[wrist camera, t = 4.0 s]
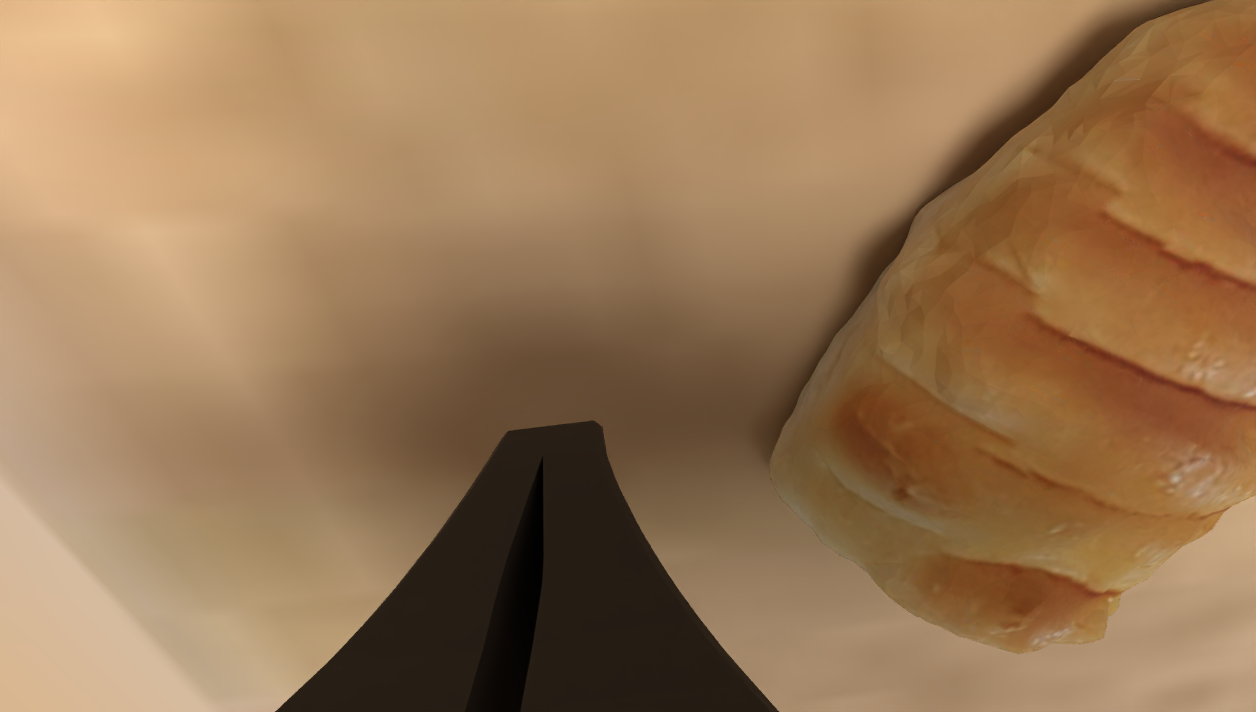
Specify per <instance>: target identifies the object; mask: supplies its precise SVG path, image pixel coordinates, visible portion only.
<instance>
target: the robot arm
mask: <svg viewBox="0 0 1256 712" xmlns="http://www.w3.org/2000/svg"><path fill="white" fill-rule="evenodd" d="M275 712H779V711H778V710H777V709H776V708H775V707H774V706H773V704H772V703H771V702H770V701H769V700H768V699H767V698H766V697H765V695H764V694H763V693H762V692H761V691H760V690H759V689H758V688H757V686H756V685H755V684H754V683H753V682H752V681H751V680H750V679H749V677H748V676H747V675H746V674H745V673H744V672H743V671H742V670H741V668H740V667H739V666H738V665H737V664H736V663H735V662H734V661H733V659H732V658H731V657H730V656H729V655H728V654H727V653H726V651H725V650H724V649H723V648H722V646H721V645H720V644H719V643H718V641H717V640H716V639H715V638H714V636H713V635H712V634H711V632H710V631H709V630H708V629H707V627H706V626H705V625H704V624H703V622H702V621H701V620H700V618H699V617H698V616H697V614H696V613H695V612H694V610H693V609H692V608H691V606H690V605H689V603H688V602H687V601H686V599H685V598H684V597H683V595H682V594H681V592H680V591H679V590H678V588H677V587H676V585H675V584H674V582H673V581H672V579H671V578H670V576H669V575H668V573H667V572H666V570H665V569H664V567H663V566H662V564H661V563H660V561H659V559H658V558H657V556H656V554H655V553H654V551H653V549H652V548H651V546H650V544H649V543H648V541H647V540H646V538H645V536H644V534H643V533H642V531H641V529H640V527H639V525H638V524H637V522H636V520H635V518H634V516H633V514H632V512H631V510H630V508H629V506H628V504H627V502H626V500H625V498H624V496H623V494H622V492H621V490H620V488H619V485H618V483H617V481H616V479H615V476H614V474H613V471H612V468H611V466H610V463H609V460H608V457H607V453H606V447H605V441H604V435H603V428H602V426H600V425H599V424H598V423H596V422H595V421H587V422H579V423H570V424H562V425H554V426H546V427H537V428H529V429H521V430H513V431H508V432H507V433H506V434H505V436H504V437H503V438H502V439H501V441H500V442H499V444H498V446H497V447H496V449H495V450H494V452H493V453H492V455H491V457H490V458H489V460H488V461H487V463H486V464H485V466H484V468H483V469H482V471H481V472H480V474H479V475H478V477H477V478H476V480H475V481H474V483H473V484H472V486H471V487H470V489H469V490H468V492H467V493H466V495H465V496H464V498H463V499H462V500H461V502H460V503H459V505H458V506H457V508H456V509H455V510H454V512H453V513H452V515H451V516H450V517H449V519H448V520H447V522H446V523H445V524H444V526H443V527H442V529H441V530H440V531H439V533H438V534H437V536H436V537H435V538H434V540H433V541H432V542H431V544H430V545H429V546H428V547H427V549H426V550H425V551H424V552H423V554H422V555H421V556H420V558H419V559H418V560H417V561H416V563H415V564H414V565H413V566H412V568H411V569H410V570H409V571H408V573H407V574H406V575H405V576H404V578H403V579H402V580H401V581H400V583H399V584H398V585H397V587H396V588H395V589H394V590H393V591H392V593H391V594H390V595H389V596H388V597H387V598H386V600H385V601H384V602H383V603H382V604H381V605H380V606H379V608H378V609H377V610H376V611H375V612H374V613H373V614H372V616H371V617H370V618H369V619H368V620H367V621H366V622H365V623H364V625H363V626H362V627H361V628H360V629H359V630H358V631H357V632H356V633H355V634H354V635H353V636H352V637H351V639H350V640H349V641H348V642H347V643H346V644H345V645H344V646H343V647H342V648H341V649H340V650H339V651H338V652H337V653H336V654H335V655H334V656H333V657H332V658H331V659H330V660H329V661H328V663H327V664H326V665H325V666H323V667H322V668H321V669H320V670H319V671H318V672H317V673H316V674H315V675H314V676H313V677H312V678H311V679H310V680H309V681H307V682H306V683H305V684H304V685H303V686H302V687H301V688H300V689H299V690H298V691H297V692H296V693H295V694H294V695H293V696H291V697H290V698H289V699H288V700H287V701H286V702H285V703H284V704H283V705H282V706H281V707H280V708H279V709H278V710H277V711H275Z"/></svg>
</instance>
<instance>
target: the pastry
mask: <svg viewBox="0 0 1256 712" xmlns="http://www.w3.org/2000/svg"><path fill="white" fill-rule="evenodd" d="M770 476H771V480H772V482H773V484H774V486H775V488H776V490H777V492H778V494H779V496H780V498H781V499H782V500H783V501H784V502H785V503H786V504H787V505H788V506H789V507H790V508H791V509H792V510H793V511H794V512H795V513H796V514H797V515H798V516H799V517H800V518H802V519H803V520H804V521H805V522H806V523H807V524H808V525H809V526H810V527H811V528H812V529H814V531H815V532H816V534H817V536H818V537H819V539H820V541H822V542H823V543H824V544H826V545H827V546H828V547H830V548H831V549H832V550H834V551H835V552H836V553H838V554H839V555H841V556H843V557H845V558H847V559H849V560H852V561H854V562H855V563H856V564H857V565H859V566H860V567H861V568H862V569H863V570H865V571H866V572H867V573H868V574H869V575H870V576H871V577H872V579H873V580H874V581H875V583H876V584H877V585H878V586H879V587H880V588H881V589H882V590H883V591H884V592H885V593H886V594H887V595H888V596H889V597H890V598H891V599H893V600H894V601H895V602H897V603H898V604H899V605H900V606H902V607H903V608H904V609H906V610H907V611H909V612H910V613H912V614H913V615H915V616H917V617H920V618H922V619H924V620H925V621H927V622H929V623H932V624H935V625H938V626H941V627H942V628H944V629H946V630H948V631H950V632H952V633H954V634H956V635H958V636H960V637H964V638H968V639H971V640H974V641H976V642H980V643H983V644H986V645H990V646H993V647H997V648H1000V649H1003V650H1006V651H1009V652H1013V653H1017V654H1019V653H1027V652H1032V651H1036V650H1039V649H1041V648H1043V647H1045V646H1046V645H1048V644H1050V643H1060V644H1084V643H1089V642H1094V641H1097V640H1099V639H1101V638H1104V634H1105V629H1106V626H1107V617H1108V616H1110V615H1111V614H1112V613H1113V612H1114V611H1115V610H1116V609H1117V608H1118V606H1119V600H1120V595H1121V593H1123V592H1124V591H1125V590H1127V589H1129V588H1131V587H1133V586H1134V585H1136V584H1138V583H1140V582H1142V581H1144V580H1146V579H1148V577H1149V576H1150V575H1151V574H1152V573H1153V571H1154V570H1155V569H1156V568H1157V567H1159V566H1160V565H1161V564H1162V563H1163V562H1165V561H1166V560H1167V559H1168V558H1169V557H1170V556H1172V555H1173V554H1174V553H1175V552H1176V551H1177V550H1179V549H1180V548H1181V547H1182V546H1184V545H1186V544H1188V543H1190V542H1192V541H1194V540H1196V539H1198V538H1200V537H1202V536H1203V535H1205V534H1206V533H1207V532H1209V531H1210V530H1212V529H1213V527H1214V526H1215V524H1216V523H1217V521H1218V520H1219V518H1220V517H1221V515H1222V514H1223V512H1225V511H1226V510H1227V509H1229V508H1230V507H1231V506H1233V505H1235V504H1237V503H1239V502H1241V501H1244V500H1246V499H1248V498H1250V497H1252V496H1254V495H1256V0H1212V1H1209V2H1206V3H1202V4H1199V5H1195V6H1191V7H1188V8H1184V9H1180V10H1178V11H1175V12H1172V13H1169V14H1167V15H1164V16H1161V17H1158V18H1155V19H1153V20H1150V21H1147V22H1145V23H1144V24H1142V25H1140V26H1138V27H1137V28H1135V29H1134V30H1133V31H1132V32H1131V33H1130V34H1129V35H1128V36H1126V37H1125V38H1124V39H1123V40H1122V41H1121V42H1120V43H1119V44H1118V45H1117V46H1115V47H1114V48H1113V49H1112V50H1111V51H1110V52H1109V53H1107V54H1106V55H1105V56H1104V57H1103V58H1102V59H1101V60H1100V61H1099V62H1098V63H1097V64H1096V65H1095V66H1094V67H1093V68H1092V69H1091V70H1089V71H1088V72H1087V73H1086V74H1085V75H1084V76H1083V77H1082V79H1080V80H1079V81H1078V82H1076V83H1075V84H1073V85H1072V86H1070V87H1069V88H1068V89H1067V90H1066V91H1065V92H1064V94H1063V95H1062V96H1061V97H1060V98H1059V100H1058V101H1057V102H1056V103H1055V104H1054V106H1053V107H1051V108H1050V109H1049V110H1048V111H1046V112H1045V113H1044V114H1042V115H1041V116H1040V117H1039V118H1037V119H1036V120H1035V121H1033V122H1032V123H1031V124H1030V125H1028V126H1027V127H1025V128H1024V129H1022V130H1021V131H1019V132H1018V133H1017V134H1015V135H1014V136H1013V137H1012V138H1010V139H1009V140H1008V141H1007V142H1006V143H1005V144H1004V145H1003V146H1002V147H1001V148H1000V149H999V150H998V151H997V152H996V153H995V154H994V155H993V156H992V157H991V158H990V159H989V160H988V161H987V162H986V163H985V164H984V165H983V166H982V167H980V168H979V169H978V170H977V171H976V172H974V173H973V174H971V175H970V176H968V177H966V178H965V179H963V180H961V181H959V182H958V183H956V184H954V185H953V186H951V187H950V188H948V189H947V190H945V191H944V192H942V193H941V194H939V195H938V196H937V197H936V198H935V199H933V200H932V201H930V202H929V203H928V204H926V205H925V206H924V207H923V208H922V209H921V210H920V211H919V212H918V214H917V215H916V216H915V218H914V220H913V222H912V224H911V227H910V231H909V234H908V237H907V239H906V241H905V243H904V246H903V248H902V250H901V252H900V253H899V255H898V256H897V257H896V258H895V259H894V260H893V261H892V262H891V263H890V264H889V265H888V266H887V267H886V268H885V269H884V271H883V272H882V273H881V275H880V276H879V278H878V280H877V281H876V283H875V284H874V286H873V288H872V289H871V291H870V292H869V294H868V295H867V296H866V298H865V299H864V300H863V302H862V303H861V305H860V306H859V307H858V309H857V310H856V312H855V313H854V314H853V316H852V317H851V318H850V320H849V321H848V322H847V323H846V324H845V325H844V326H843V327H842V328H841V329H840V330H839V331H838V332H837V334H836V335H835V336H834V338H833V340H832V341H831V343H830V345H829V347H828V349H827V351H826V352H825V354H824V355H823V356H822V358H821V359H820V361H819V363H818V364H817V366H816V368H815V370H814V372H813V374H812V376H811V378H810V379H809V381H808V382H807V384H806V385H805V387H804V388H803V389H802V392H801V394H800V396H799V399H798V401H797V404H796V407H795V409H794V411H793V413H792V415H791V416H790V418H789V419H788V420H787V422H786V423H785V425H784V426H783V428H782V431H781V434H780V437H779V439H778V441H777V443H776V445H775V448H774V451H773V454H772V457H771V460H770Z"/></svg>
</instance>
